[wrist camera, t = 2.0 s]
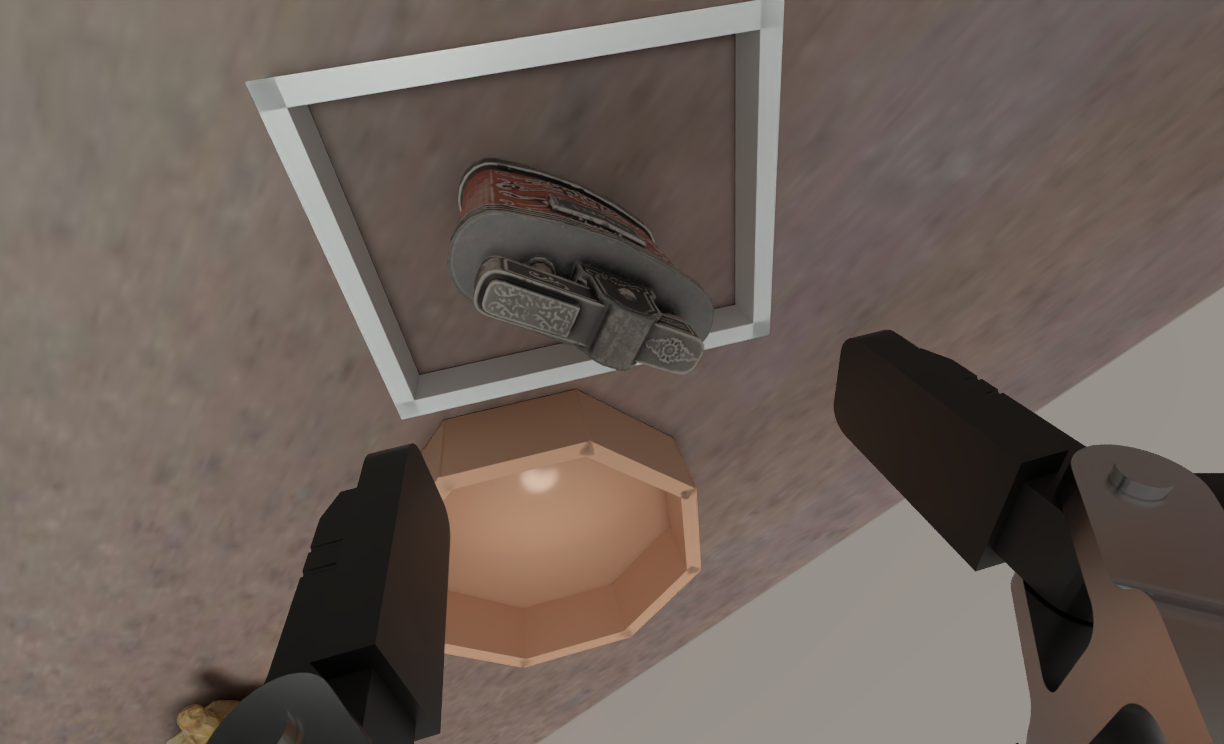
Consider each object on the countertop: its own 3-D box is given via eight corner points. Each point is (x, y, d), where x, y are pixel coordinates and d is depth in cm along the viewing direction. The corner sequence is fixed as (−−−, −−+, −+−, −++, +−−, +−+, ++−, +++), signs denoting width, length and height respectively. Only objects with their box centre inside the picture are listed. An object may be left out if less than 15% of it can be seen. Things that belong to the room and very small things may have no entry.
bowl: (666, 367, 26) (693, 414, 22) (683, 561, 34) (704, 616, 31) (345, 442, 24) (323, 505, 21) (448, 625, 33) (444, 690, 29)
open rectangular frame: (757, 0, 18) (784, -5, 16) (750, 315, 25) (769, 334, 23) (268, 78, 16) (244, 81, 15) (407, 393, 23) (401, 419, 22)
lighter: (663, 219, 22) (775, 326, 13) (628, 290, 23) (711, 426, 15) (474, 136, 18) (467, 208, 10) (447, 223, 20) (422, 349, 12)
